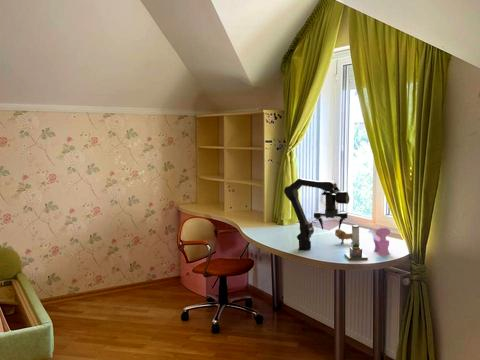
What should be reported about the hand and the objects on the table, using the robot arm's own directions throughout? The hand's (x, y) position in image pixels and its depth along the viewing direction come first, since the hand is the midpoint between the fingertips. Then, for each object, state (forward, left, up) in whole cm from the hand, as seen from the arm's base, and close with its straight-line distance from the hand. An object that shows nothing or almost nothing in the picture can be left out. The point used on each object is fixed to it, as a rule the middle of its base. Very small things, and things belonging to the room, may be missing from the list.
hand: (330, 229), depth 265 cm
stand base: (+14, -11, -13) cm, 22 cm away
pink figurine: (+28, +2, -13) cm, 31 cm away
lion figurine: (+8, +21, -13) cm, 26 cm away
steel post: (+14, -11, -8) cm, 19 cm away
